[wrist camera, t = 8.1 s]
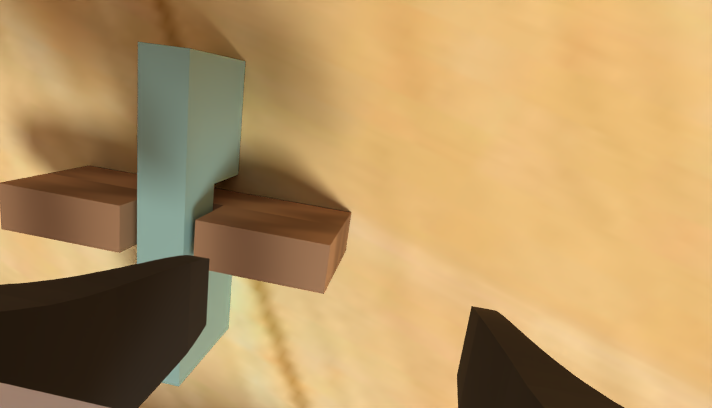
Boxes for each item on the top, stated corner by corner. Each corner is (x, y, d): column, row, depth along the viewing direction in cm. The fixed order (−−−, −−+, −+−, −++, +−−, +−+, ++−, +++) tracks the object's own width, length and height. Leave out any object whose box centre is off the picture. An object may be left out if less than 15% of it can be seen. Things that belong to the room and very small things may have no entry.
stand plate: (351, 212, 21) (330, 245, 16) (345, 250, 22) (323, 293, 17) (88, 165, 23) (-2, 183, 18) (89, 202, 23) (1, 228, 18)
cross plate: (228, 328, 24) (178, 386, 19) (193, 321, 24) (136, 377, 19) (245, 61, 20) (189, 48, 15) (204, 55, 20) (137, 41, 16)
